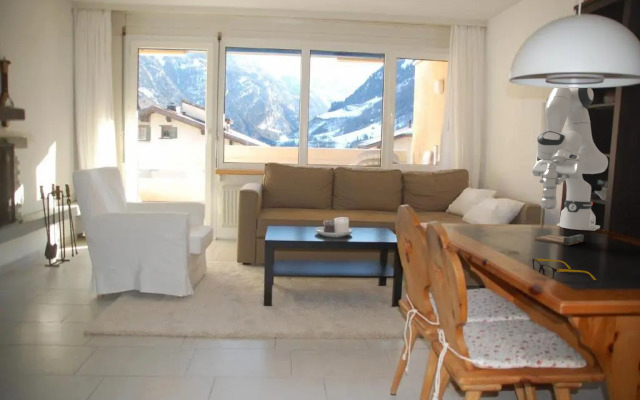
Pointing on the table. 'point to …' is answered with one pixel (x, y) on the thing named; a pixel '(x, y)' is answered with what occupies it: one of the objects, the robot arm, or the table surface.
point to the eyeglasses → (556, 269)
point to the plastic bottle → (549, 187)
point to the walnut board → (561, 239)
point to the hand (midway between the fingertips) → (549, 182)
